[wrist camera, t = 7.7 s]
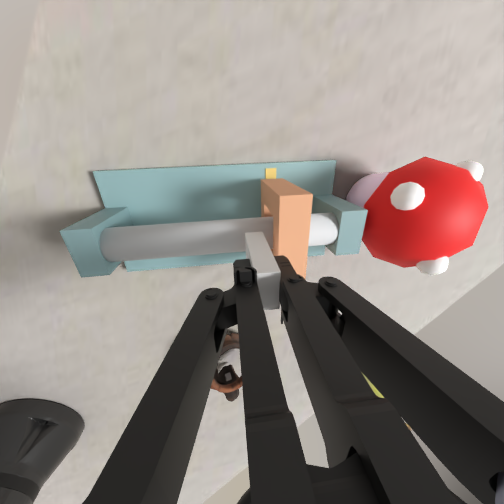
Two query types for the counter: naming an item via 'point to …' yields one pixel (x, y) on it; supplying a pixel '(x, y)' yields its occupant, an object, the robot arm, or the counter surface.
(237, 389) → the pottery mug
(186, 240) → the pipe rig
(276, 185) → the peach rectangular collar
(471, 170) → the mushroom
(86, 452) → the counter surface
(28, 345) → the counter surface
